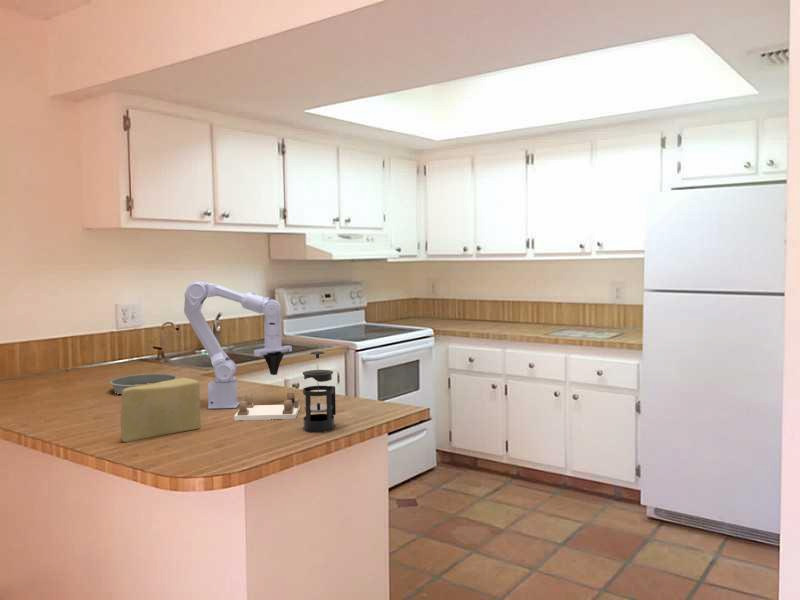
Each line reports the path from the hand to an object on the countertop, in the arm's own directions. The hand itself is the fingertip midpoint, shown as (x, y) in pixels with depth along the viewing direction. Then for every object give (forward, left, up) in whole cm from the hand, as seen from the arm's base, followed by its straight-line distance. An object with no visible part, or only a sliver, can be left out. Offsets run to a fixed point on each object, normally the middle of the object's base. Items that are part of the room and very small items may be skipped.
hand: (273, 374), depth 227 cm
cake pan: (-54, +31, -11) cm, 63 cm away
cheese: (-28, -35, -11) cm, 46 cm away
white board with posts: (0, -15, -10) cm, 18 cm away
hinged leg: (+7, -13, -9) cm, 17 cm away
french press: (+18, -33, -11) cm, 39 cm away
